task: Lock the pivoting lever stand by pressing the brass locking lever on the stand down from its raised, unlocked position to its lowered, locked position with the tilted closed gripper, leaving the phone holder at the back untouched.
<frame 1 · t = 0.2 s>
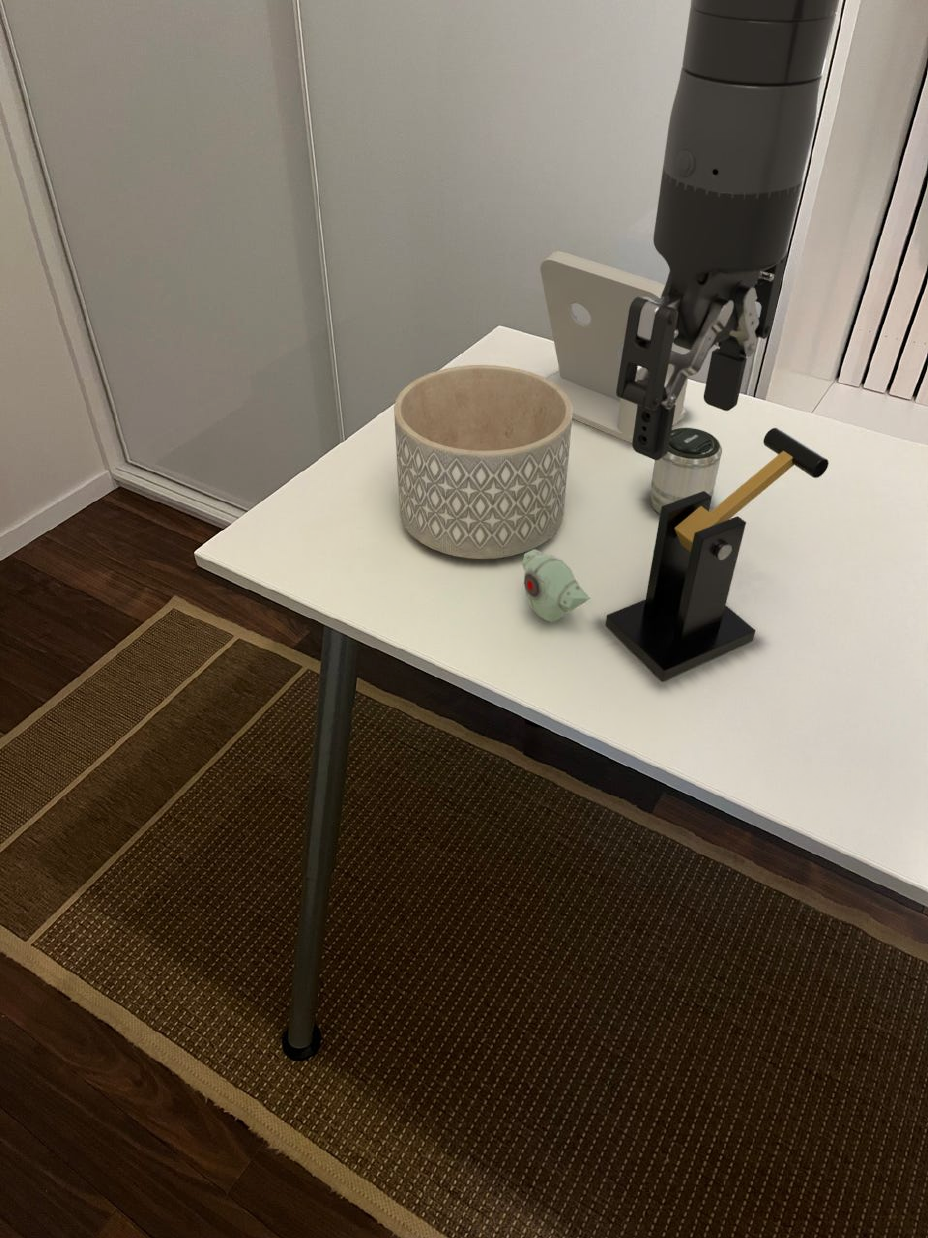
hand: (685, 428, 62), 24 cm above the table, tool pointing down, fingers open, 8 cm apart
planter: (481, 520, 95), on the table
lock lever: (744, 494, 75), point 13 cm above the table, hinge at 28.0°
phone holder: (605, 407, 112), on the table
camera lens: (678, 506, 97), on the table
pivoting lever stand: (678, 633, 82), on the table
mint green rounded piece: (545, 620, 84), on the table
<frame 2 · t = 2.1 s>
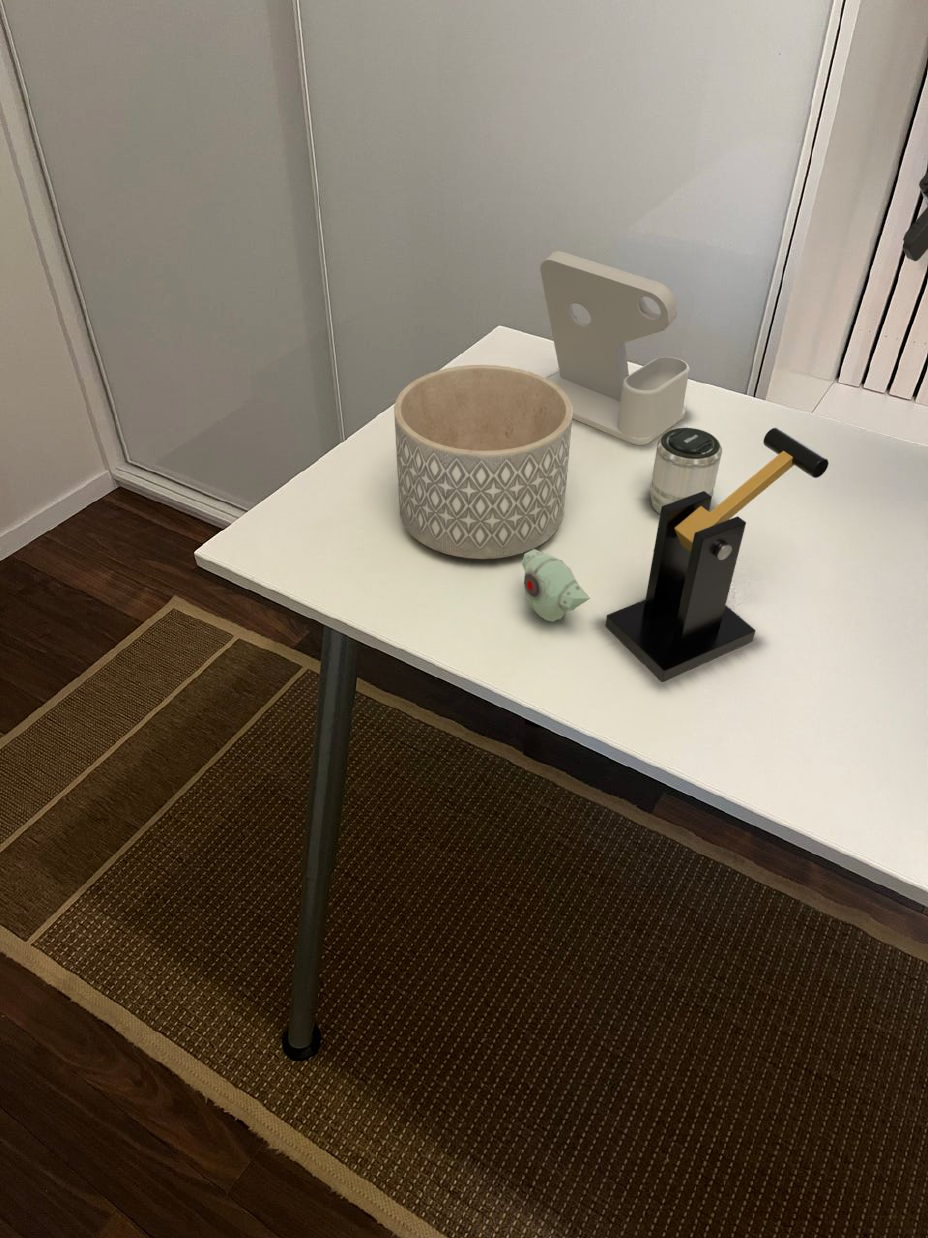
nothing on the table moved.
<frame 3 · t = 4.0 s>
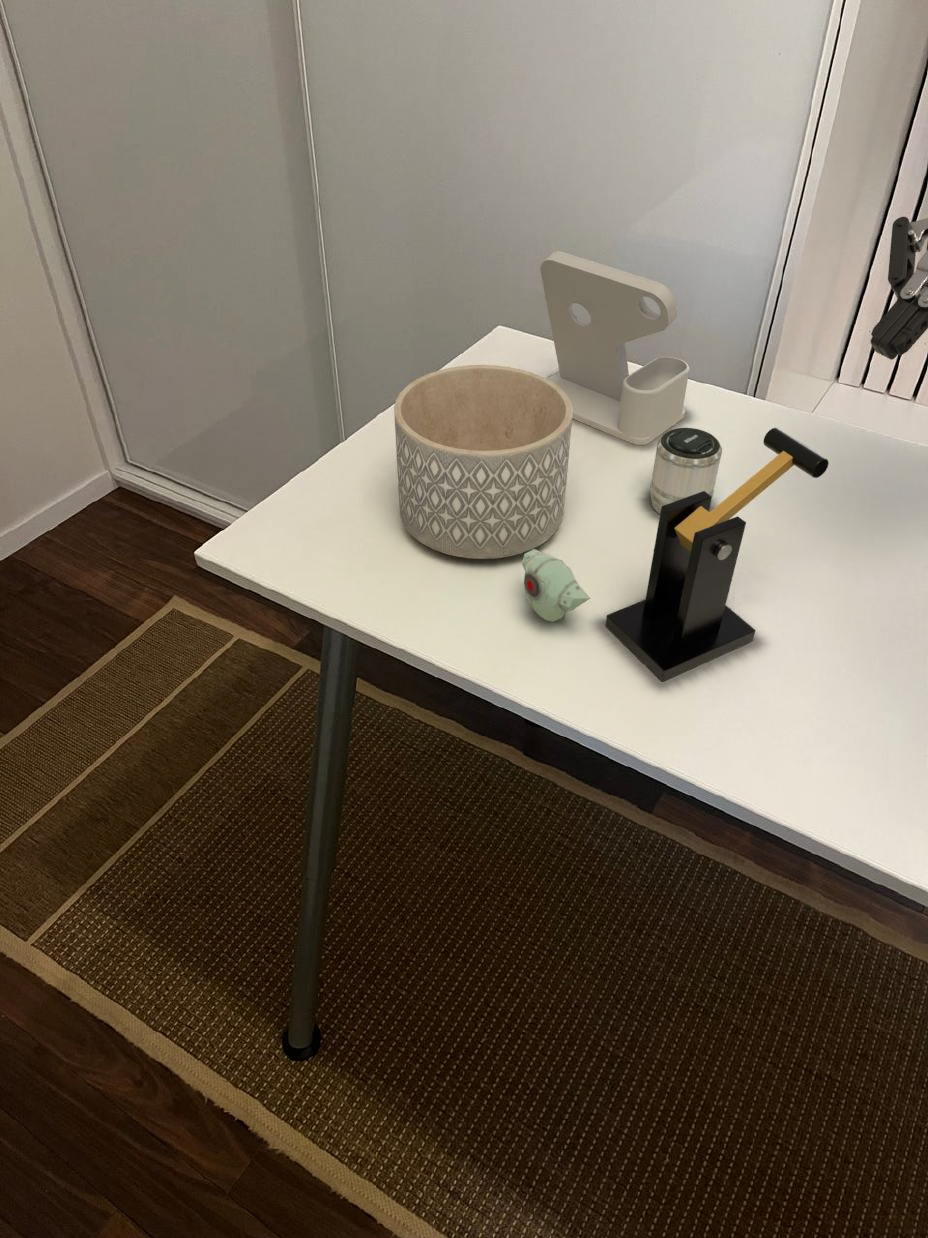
hand: (880, 350, 73), 23 cm above the table, tool tilted 45°, fingers closed
nothing on the table moved.
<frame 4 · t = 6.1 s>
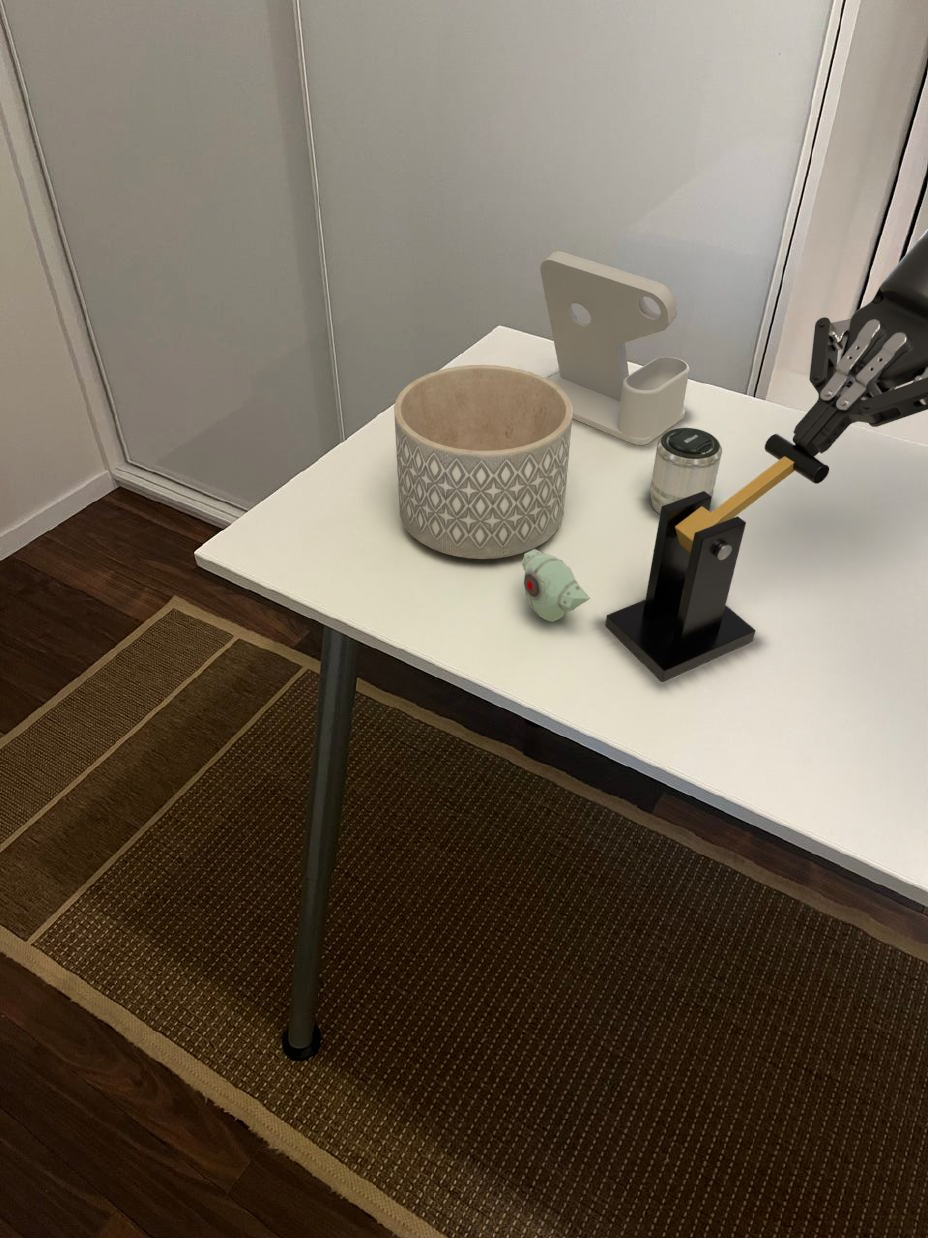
hand: (802, 448, 75), 16 cm above the table, tool tilted 45°, fingers closed
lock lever: (745, 497, 75), point 13 cm above the table, hinge at 23.8°, touching gripper
everything else where it was.
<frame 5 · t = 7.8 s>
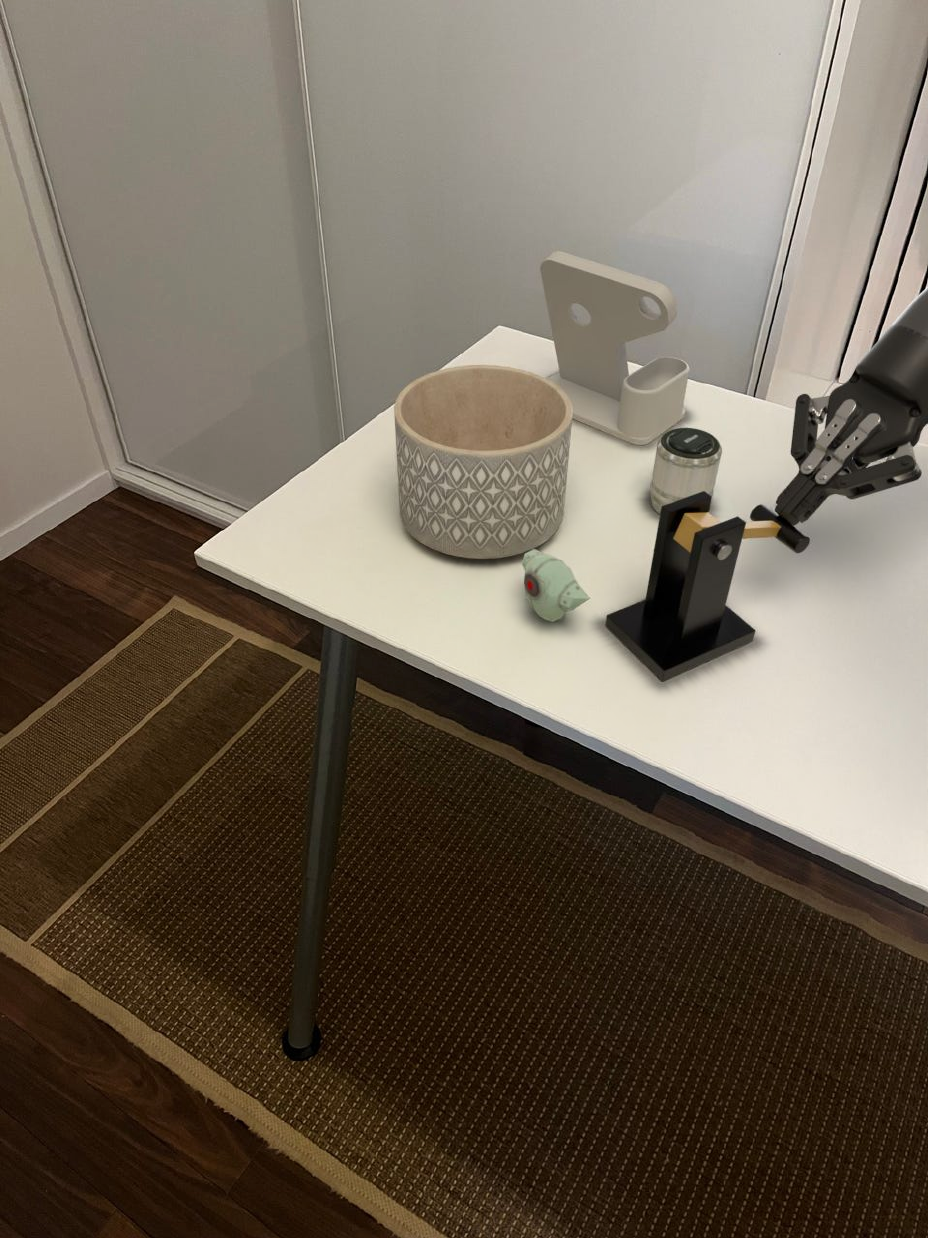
hand: (784, 518, 80), 9 cm above the table, tool tilted 45°, fingers closed
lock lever: (738, 530, 78), point 10 cm above the table, hinge at -18.0°, touching gripper
everything else where it was.
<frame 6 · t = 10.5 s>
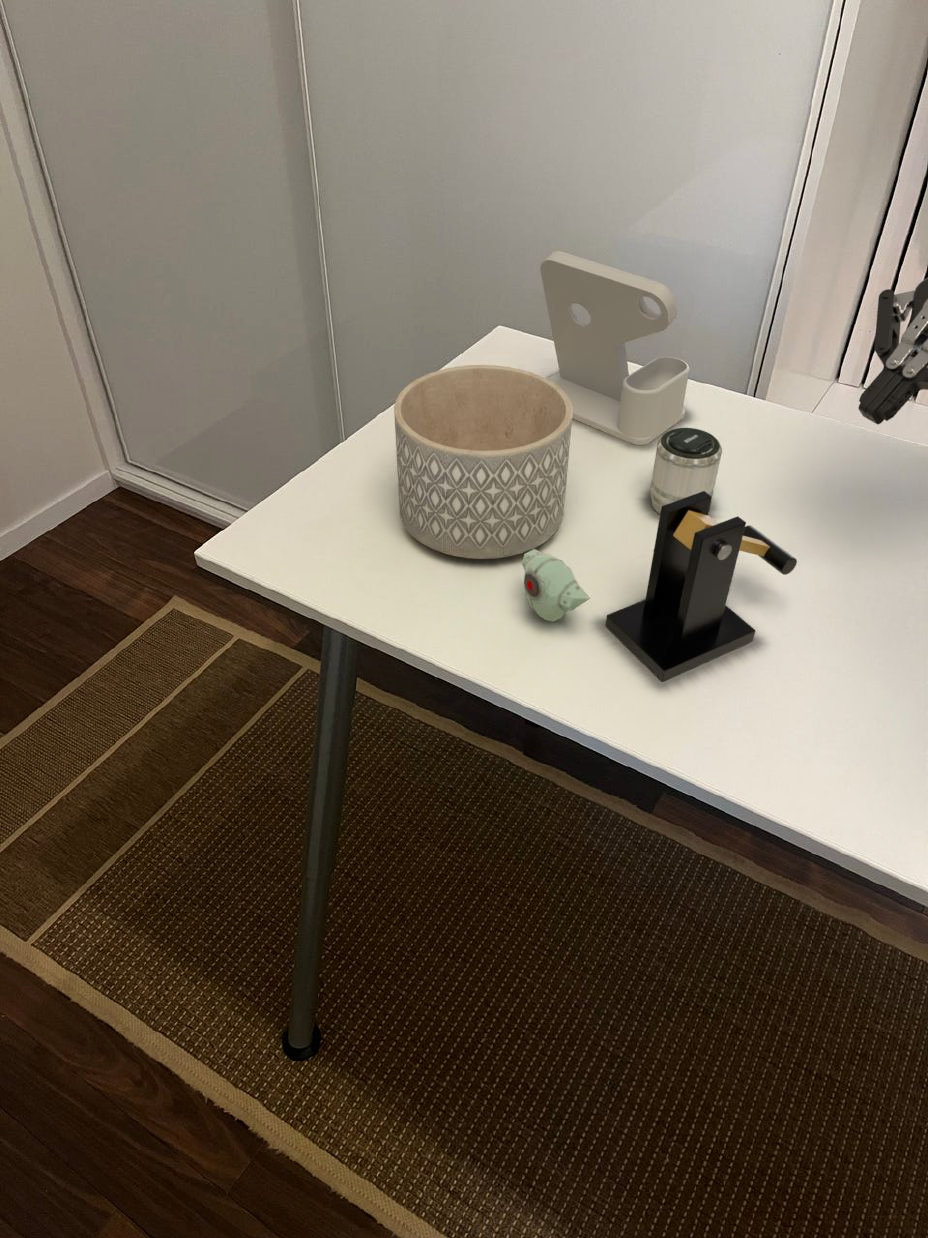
hand: (868, 416, 77), 17 cm above the table, tool tilted 45°, fingers closed
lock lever: (732, 540, 78), point 9 cm above the table, hinge at -30.3°
everything else where it was.
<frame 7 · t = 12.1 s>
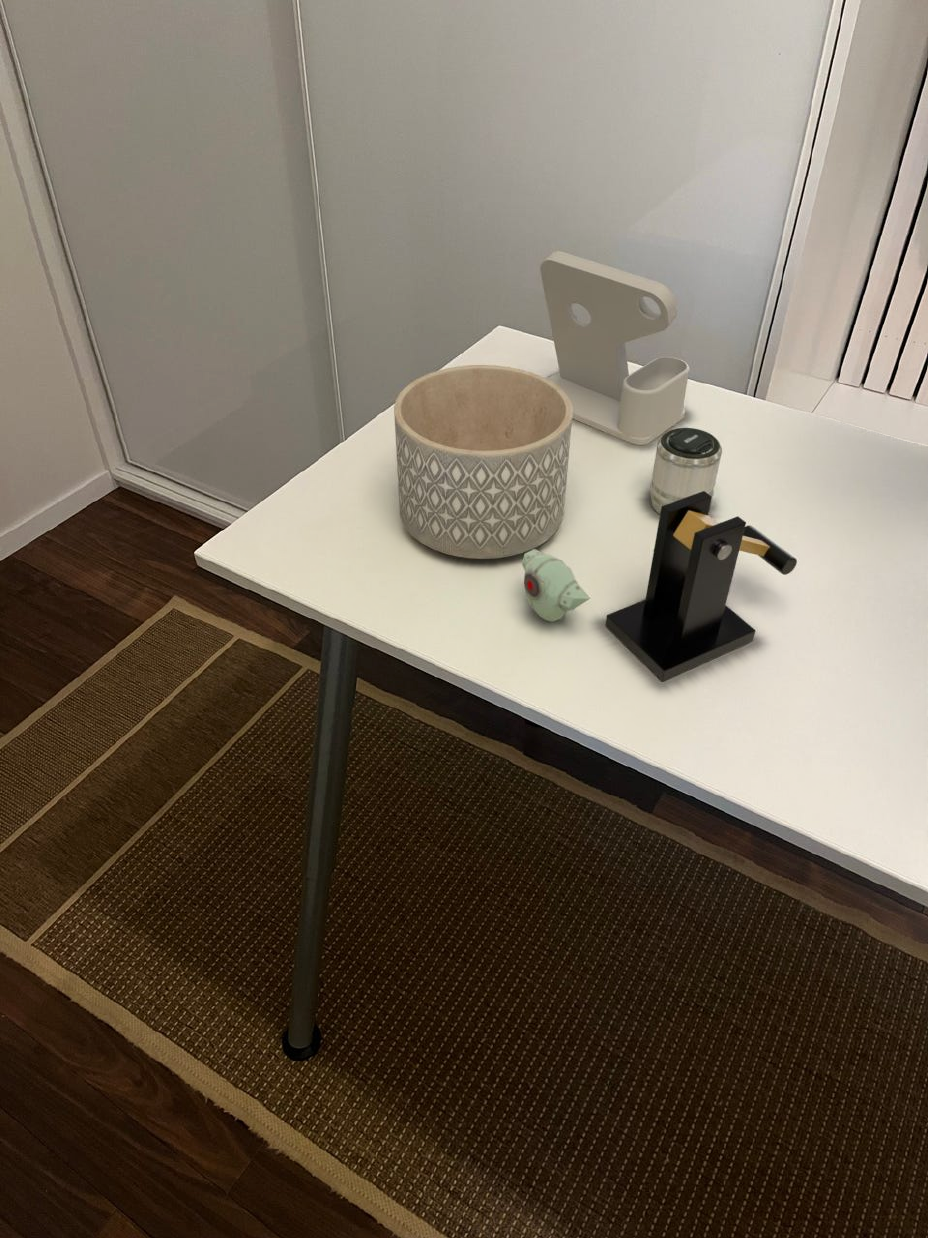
nothing on the table moved.
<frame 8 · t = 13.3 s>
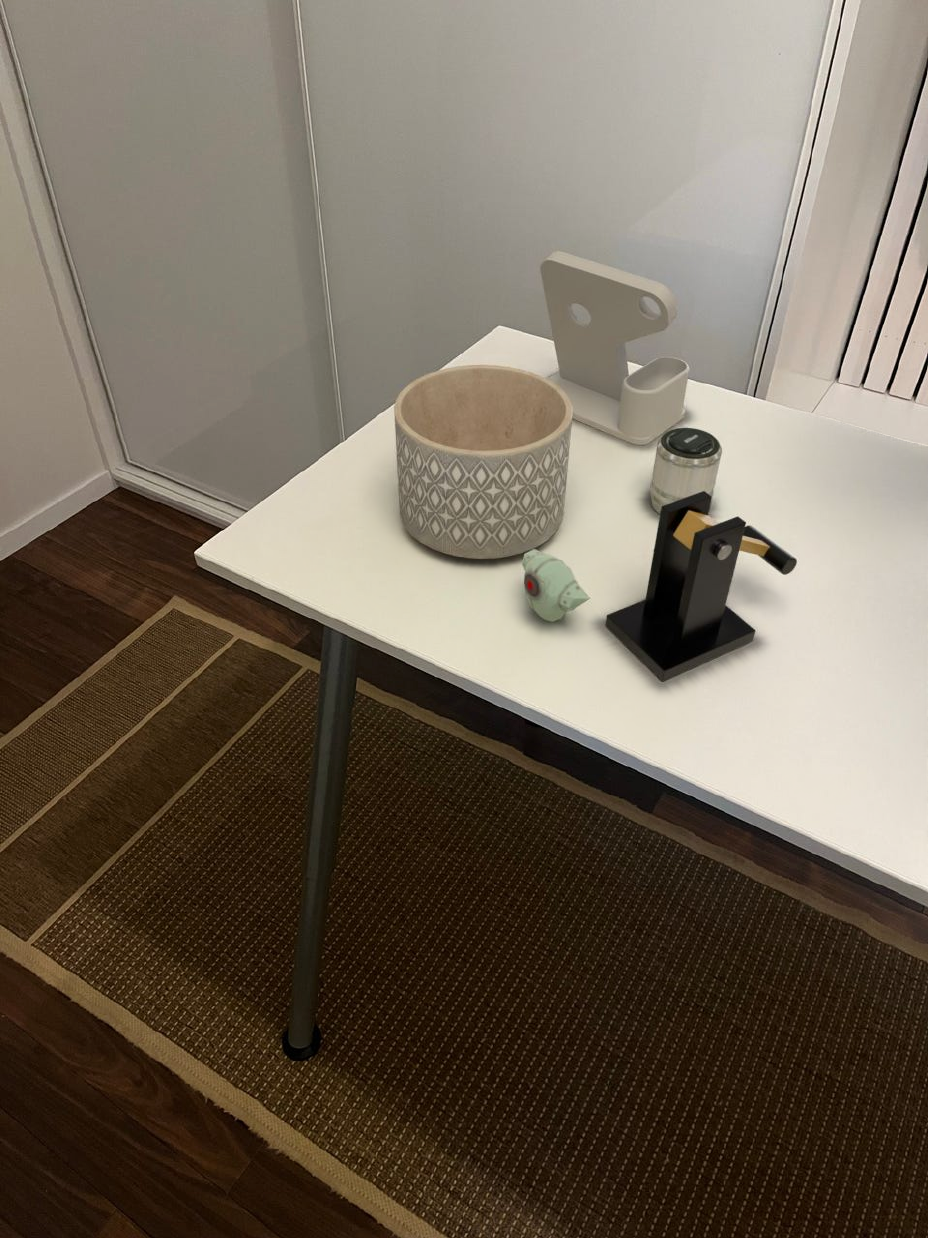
nothing on the table moved.
at the end: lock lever at -30° (first picture: +28°); phone holder moved 0.2 cm from its start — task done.
